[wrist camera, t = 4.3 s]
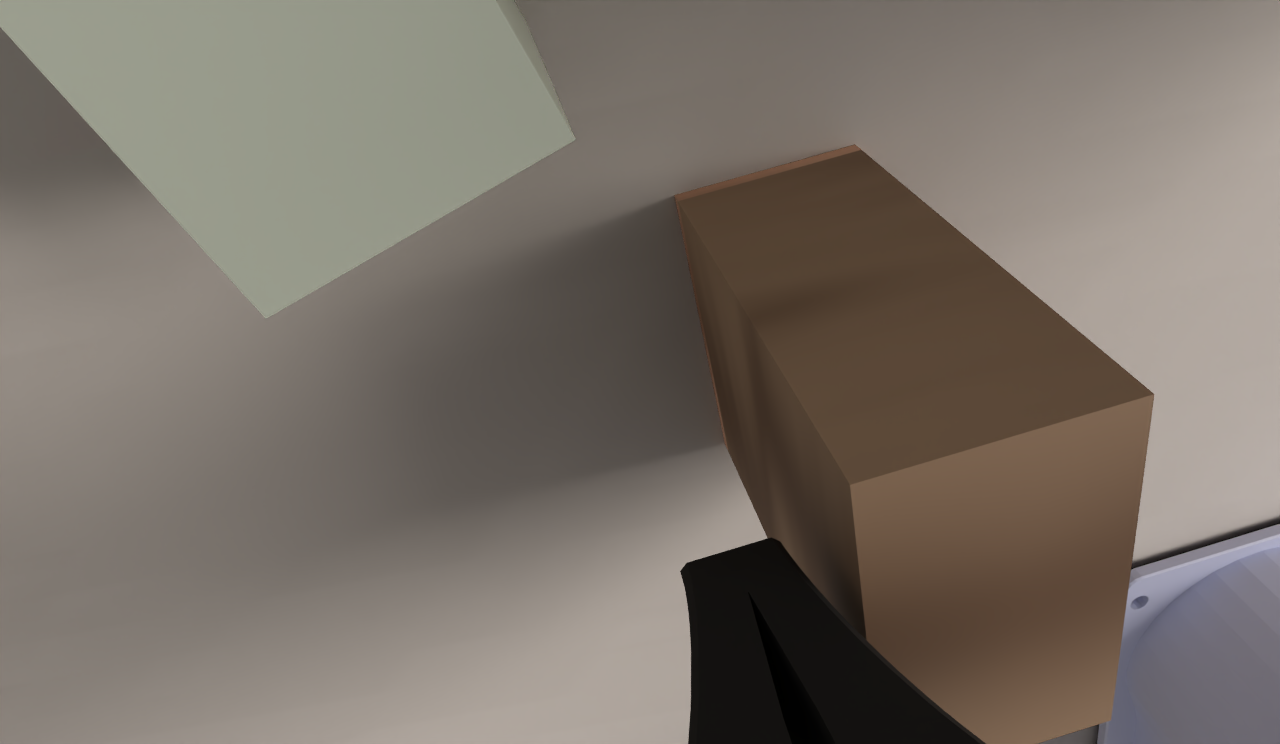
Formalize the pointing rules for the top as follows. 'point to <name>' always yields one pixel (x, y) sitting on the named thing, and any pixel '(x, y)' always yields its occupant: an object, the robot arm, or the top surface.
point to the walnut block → (923, 439)
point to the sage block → (301, 117)
